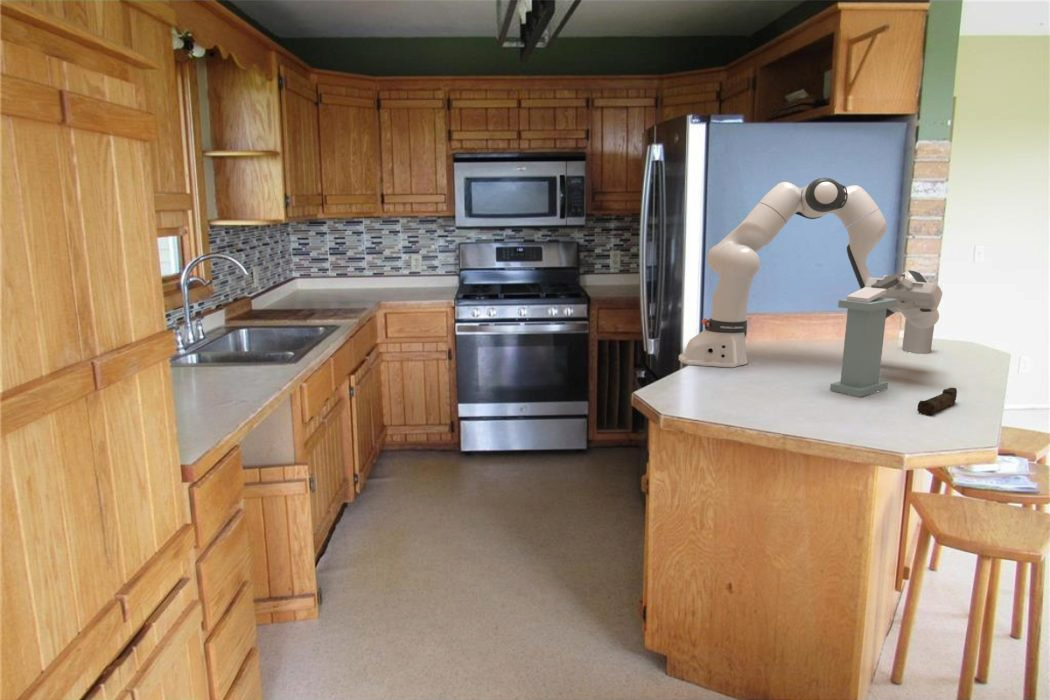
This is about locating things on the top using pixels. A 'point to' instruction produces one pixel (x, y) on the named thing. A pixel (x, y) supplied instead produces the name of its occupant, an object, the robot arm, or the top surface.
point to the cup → (917, 339)
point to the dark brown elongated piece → (938, 402)
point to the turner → (874, 289)
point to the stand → (863, 346)
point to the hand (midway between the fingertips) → (892, 278)
